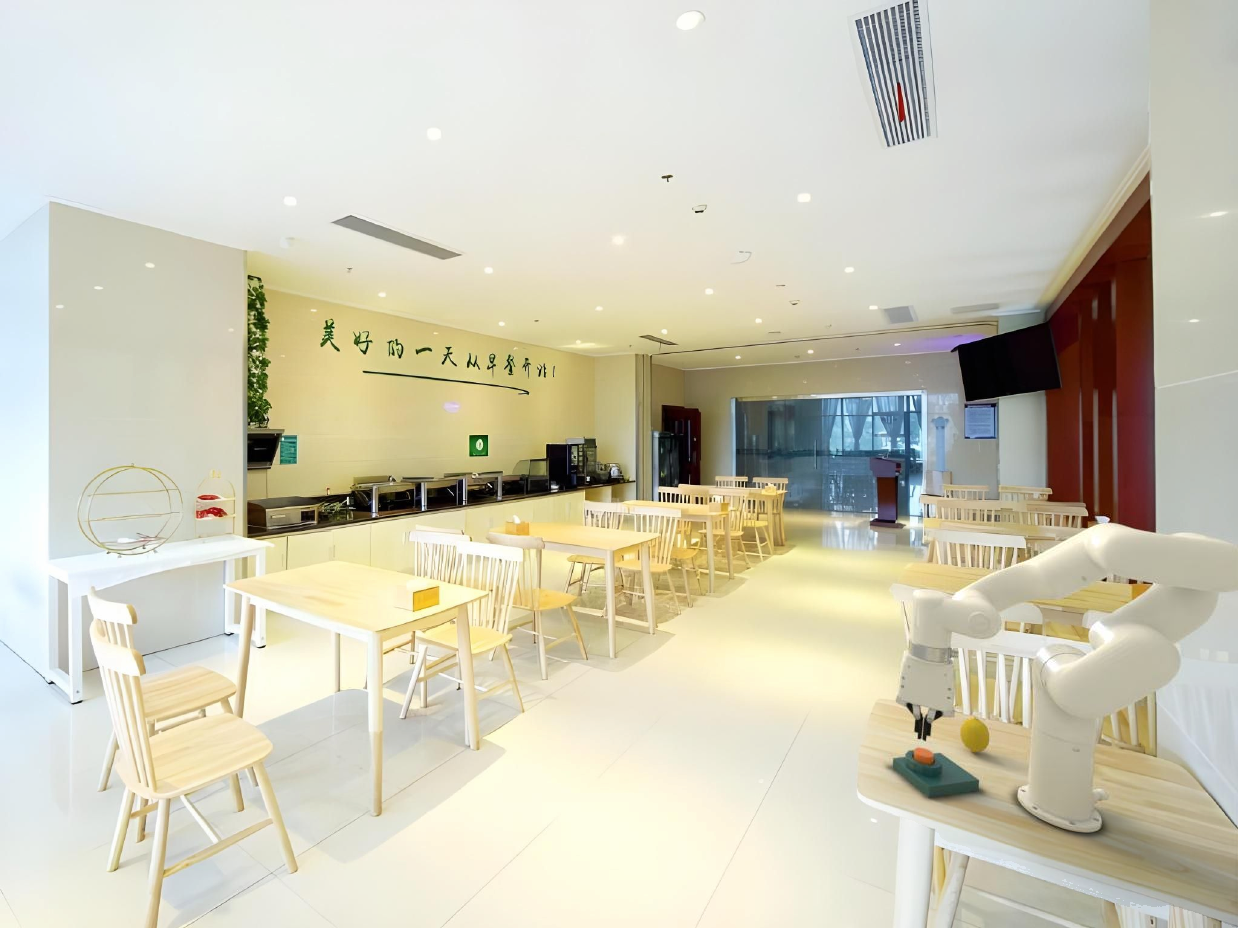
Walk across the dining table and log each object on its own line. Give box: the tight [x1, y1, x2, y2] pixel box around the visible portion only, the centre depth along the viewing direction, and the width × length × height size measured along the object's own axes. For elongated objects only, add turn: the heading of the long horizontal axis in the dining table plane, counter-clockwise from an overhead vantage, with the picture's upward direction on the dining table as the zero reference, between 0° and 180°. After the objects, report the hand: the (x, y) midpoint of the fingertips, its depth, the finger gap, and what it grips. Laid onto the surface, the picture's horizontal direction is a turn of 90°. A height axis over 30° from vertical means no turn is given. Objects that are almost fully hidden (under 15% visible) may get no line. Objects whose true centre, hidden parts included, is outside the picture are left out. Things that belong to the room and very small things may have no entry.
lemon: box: [959, 717, 990, 754], centre depth 126 cm, size 6×6×8 cm
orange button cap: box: [913, 747, 934, 765], centre depth 116 cm, size 4×4×2 cm
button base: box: [892, 749, 980, 798], centre depth 115 cm, size 12×10×4 cm
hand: (922, 736), depth 116 cm, fingers closed
